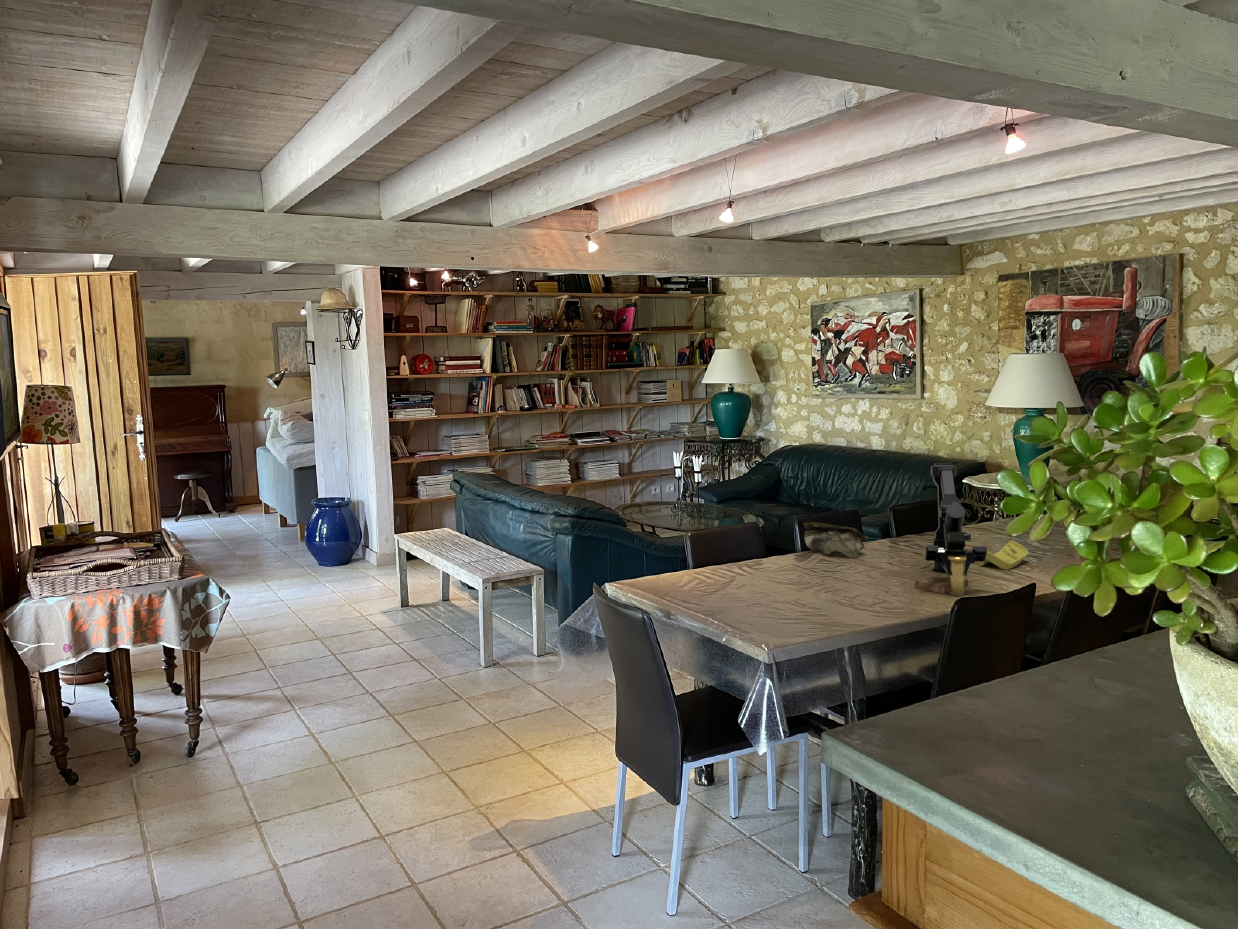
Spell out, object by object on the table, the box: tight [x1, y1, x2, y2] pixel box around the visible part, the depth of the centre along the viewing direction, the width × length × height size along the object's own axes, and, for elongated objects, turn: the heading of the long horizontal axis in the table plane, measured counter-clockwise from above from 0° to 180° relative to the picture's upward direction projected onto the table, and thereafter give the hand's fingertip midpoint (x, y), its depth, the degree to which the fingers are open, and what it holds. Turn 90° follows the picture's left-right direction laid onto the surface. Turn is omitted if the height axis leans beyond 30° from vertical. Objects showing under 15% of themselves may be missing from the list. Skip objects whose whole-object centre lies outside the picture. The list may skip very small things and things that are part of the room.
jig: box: [914, 573, 969, 594], centre depth 302 cm, size 11×14×2 cm
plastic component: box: [978, 540, 1029, 571], centre depth 332 cm, size 20×7×10 cm
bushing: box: [948, 555, 967, 597], centre depth 292 cm, size 6×6×12 cm
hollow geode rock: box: [802, 521, 869, 559], centre depth 360 cm, size 28×13×15 cm
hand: (957, 575), depth 290 cm, fingers closed on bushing, 5 cm apart
